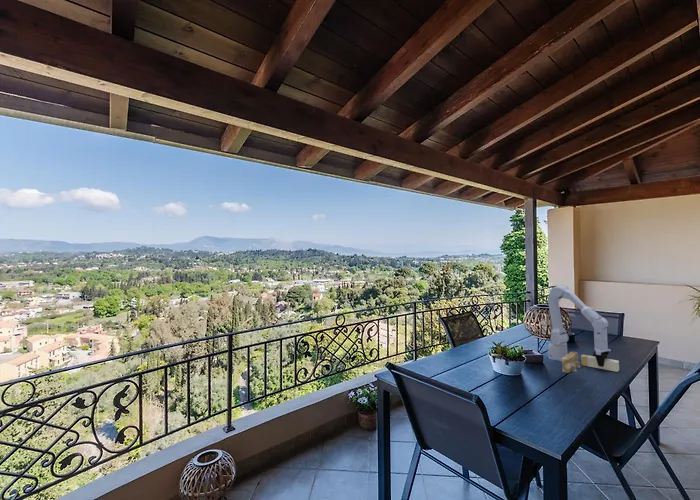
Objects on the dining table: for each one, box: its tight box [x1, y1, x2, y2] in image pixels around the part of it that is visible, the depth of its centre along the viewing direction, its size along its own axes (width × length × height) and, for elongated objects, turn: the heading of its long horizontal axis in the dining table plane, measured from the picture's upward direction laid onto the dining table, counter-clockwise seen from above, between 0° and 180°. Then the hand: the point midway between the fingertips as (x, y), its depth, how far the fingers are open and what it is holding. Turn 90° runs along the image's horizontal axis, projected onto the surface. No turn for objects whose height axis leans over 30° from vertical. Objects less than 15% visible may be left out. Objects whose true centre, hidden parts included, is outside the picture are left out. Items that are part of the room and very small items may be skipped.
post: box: [561, 351, 581, 374], centre depth 177 cm, size 5×18×7 cm, turn 132°
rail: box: [580, 354, 620, 373], centre depth 177 cm, size 16×4×5 cm, turn 42°
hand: (601, 365), depth 176 cm, fingers closed on rail, 4 cm apart
